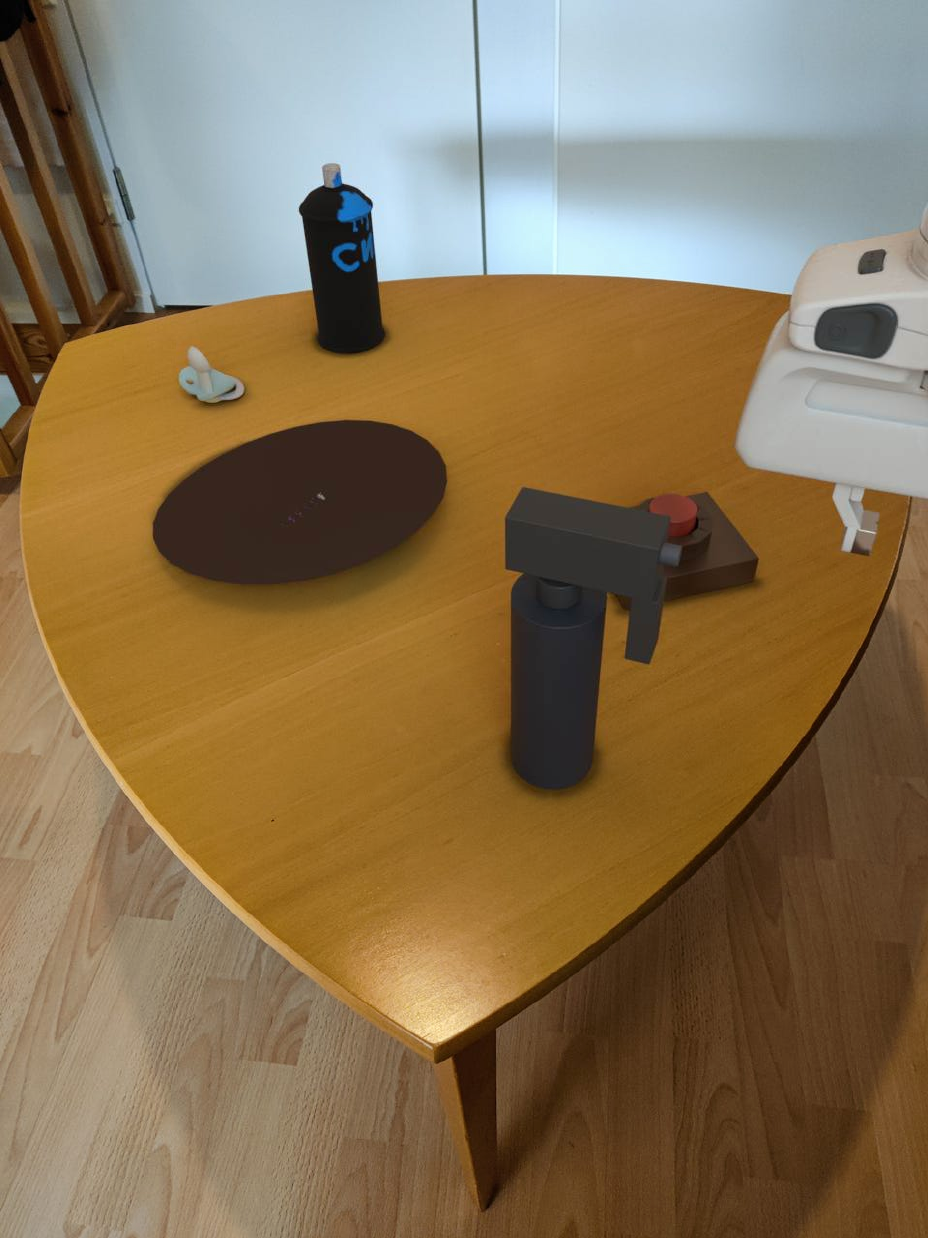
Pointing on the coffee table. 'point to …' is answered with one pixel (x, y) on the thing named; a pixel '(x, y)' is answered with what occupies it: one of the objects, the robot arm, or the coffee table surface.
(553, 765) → the spray bottle
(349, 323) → the aerosol can
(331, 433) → the plate
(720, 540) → the button block
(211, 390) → the pacifier
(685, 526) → the button
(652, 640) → the block
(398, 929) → the coffee table surface
